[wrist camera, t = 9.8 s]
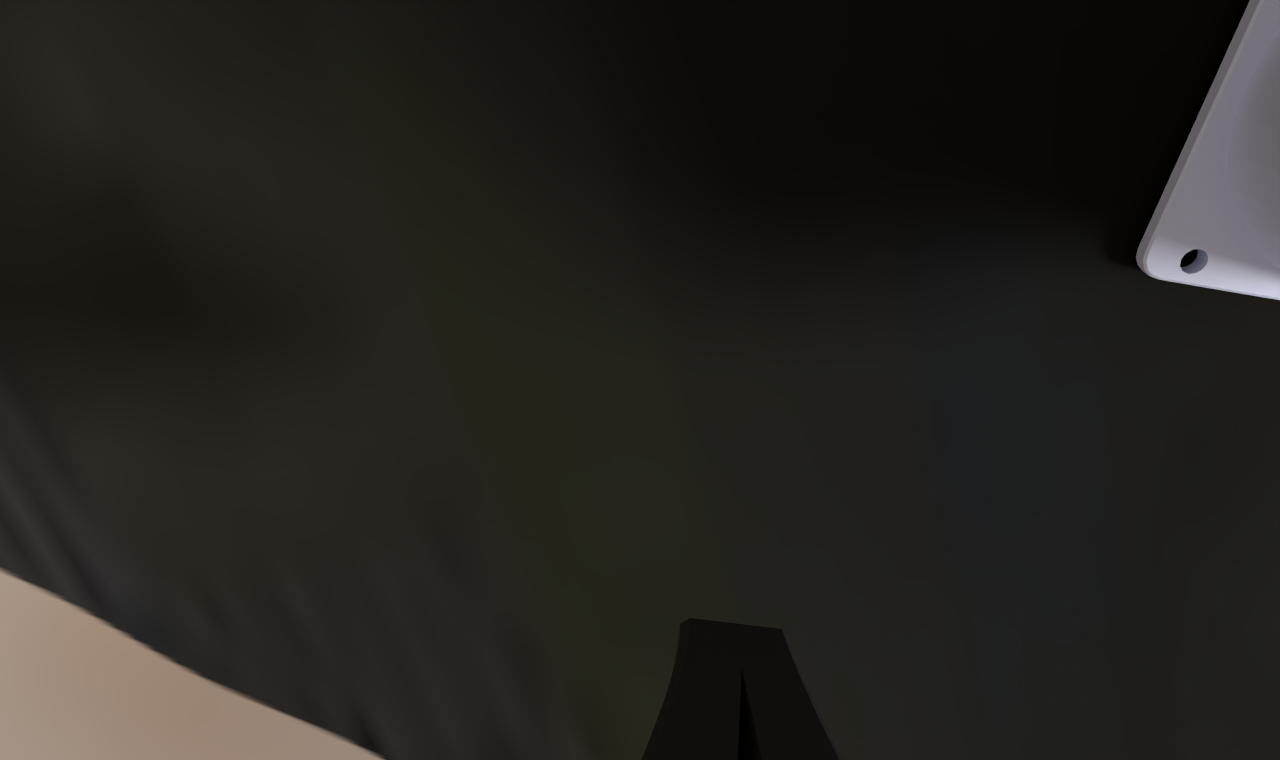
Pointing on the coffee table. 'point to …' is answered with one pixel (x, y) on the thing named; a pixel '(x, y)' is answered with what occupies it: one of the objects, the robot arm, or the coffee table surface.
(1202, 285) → the robot arm
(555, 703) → the coffee table surface
